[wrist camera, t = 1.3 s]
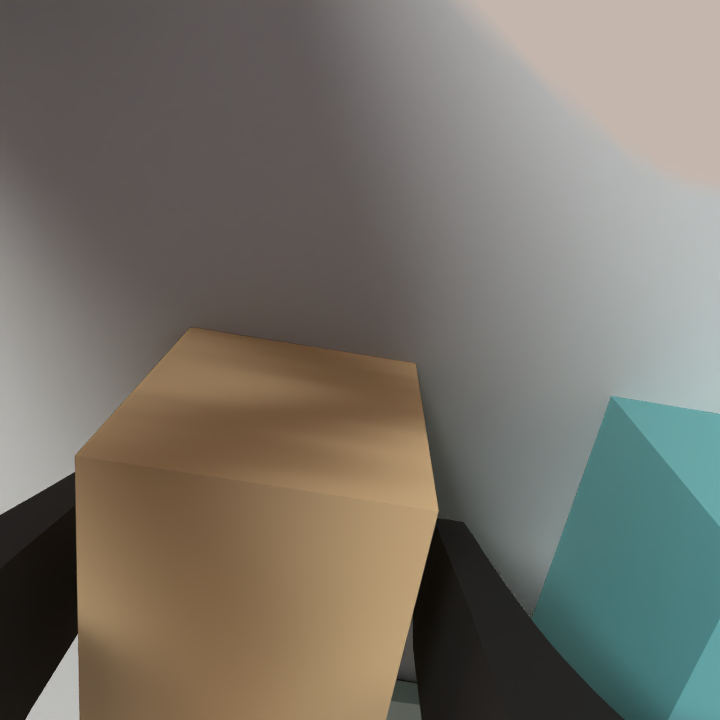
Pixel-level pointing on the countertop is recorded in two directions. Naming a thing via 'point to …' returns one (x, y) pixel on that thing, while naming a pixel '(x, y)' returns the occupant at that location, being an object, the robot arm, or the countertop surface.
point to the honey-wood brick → (252, 535)
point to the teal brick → (643, 565)
